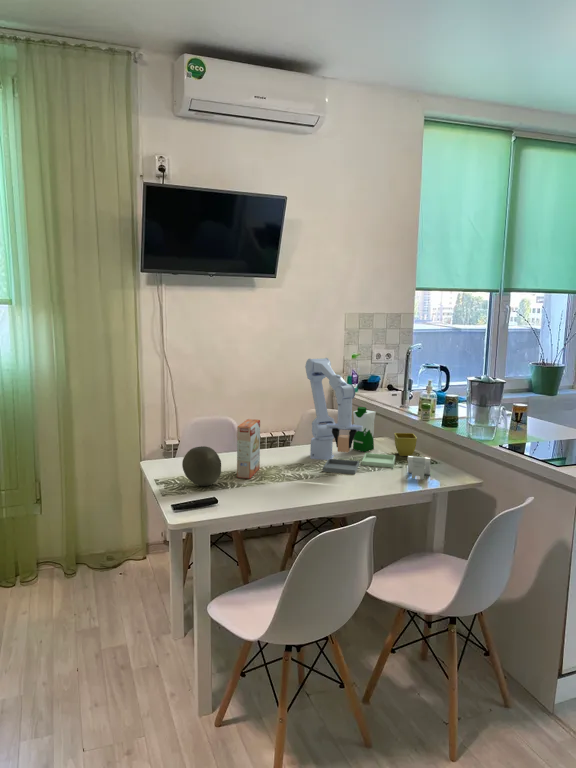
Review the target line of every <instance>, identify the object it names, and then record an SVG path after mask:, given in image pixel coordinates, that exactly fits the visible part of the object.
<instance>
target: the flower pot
mask: <svg viewBox="0 0 576 768" xmlns="http://www.w3.org/2000/svg"><path fill="white" fill-rule="evenodd" d="M393 435H394V446H395V449H396V452H397V453H398V456H400V457H408V456H412V455H413V454H414V453H415V450H416V446H417V442H418V437H417V436H416V435H415V434H414V432H412V433H411V432H408V433H407V432H394V433H393Z"/></svg>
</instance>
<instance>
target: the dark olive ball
mask: <svg viewBox="0 0 576 768" xmlns="http://www.w3.org/2000/svg"><path fill="white" fill-rule="evenodd" d="M182 471H183V473H184V475H185V476H186V478H187V479H188V480H189V481H190V482H192V483H193V484H195V485H197V486H202V487H207V486H211V485H213V484H215V483H216V482H217V481H218V480H219V479H220V478H221V477H220V476H221V474H222V461H221V459H220V456H219V454H218V453H217V452H216V451H215V450H214V449H213V448H211V447H210V446H206V445H204V446H196V447H192V448H191V449H189V450H188V451H187V452H186V454H185V455H184V456H183V459H182Z"/></svg>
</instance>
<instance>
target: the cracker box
mask: <svg viewBox="0 0 576 768" xmlns="http://www.w3.org/2000/svg"><path fill="white" fill-rule="evenodd" d="M236 429H237V430H236V434H237V435H236V439H237V440H236V442H237V443H236V455H237V456H236V461H237V462H236V478H237V479H238V478H239V479H251V478H252V477H253V476H254V475H255V474H256V473H257V472H258V471H259V470H260V468H261V467H260V463H261V460H260V456H261V452H260V451H261V450H260V449H261V448H260V447H261V419H252V418H248V419H245V420H244V421H243V422H241V423H240V424H239V425H237V427H236Z"/></svg>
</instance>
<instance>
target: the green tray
mask: <svg viewBox="0 0 576 768" xmlns="http://www.w3.org/2000/svg"><path fill="white" fill-rule="evenodd" d="M395 463H396V454H385V453H373V452H371V453H369V452H364V455H363V458H362V460H361V466H369V467H370V466H371V467H378V468H379V467H381V468H382V467H383V468H391V469H392V470H393V469H394V467H395Z"/></svg>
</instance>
